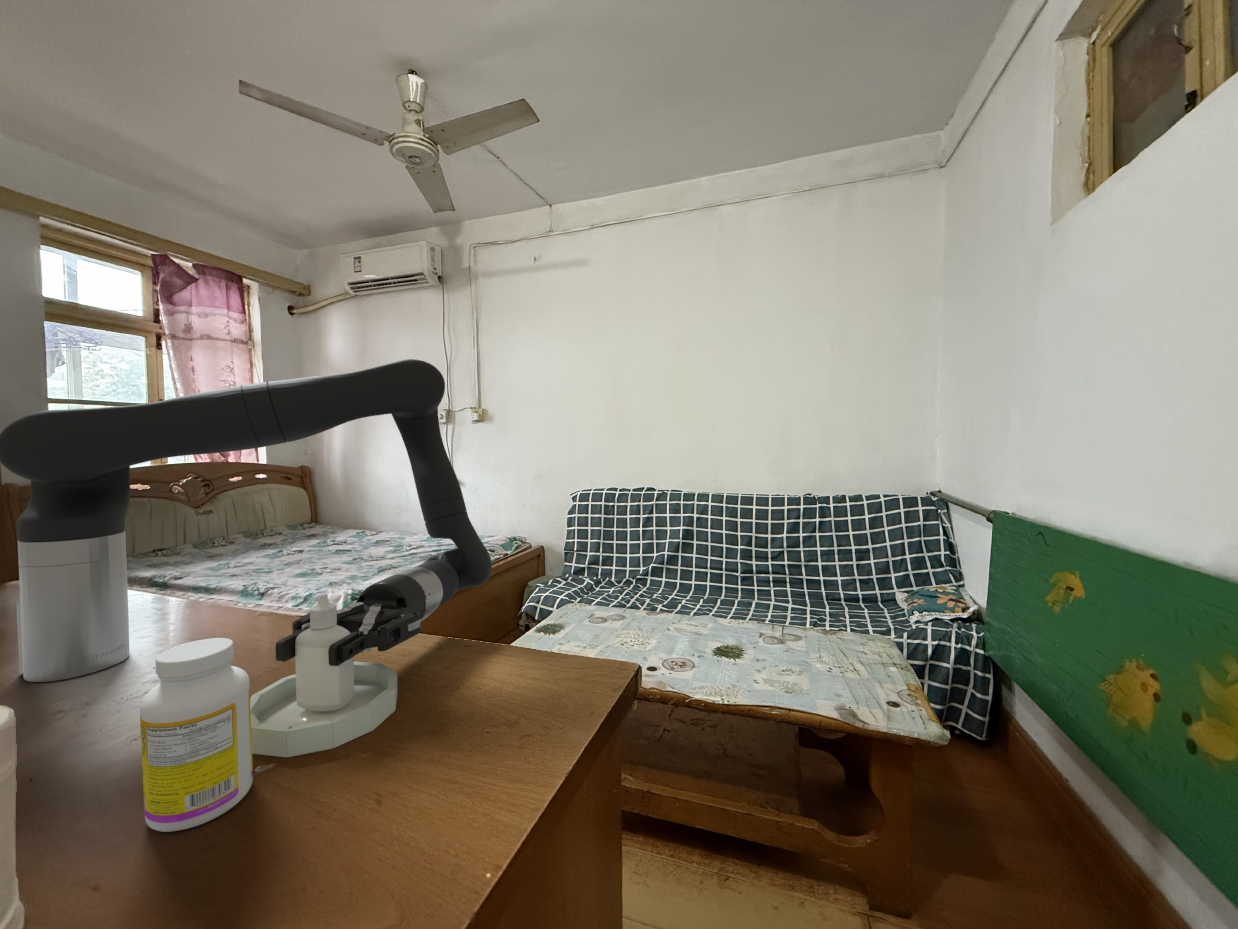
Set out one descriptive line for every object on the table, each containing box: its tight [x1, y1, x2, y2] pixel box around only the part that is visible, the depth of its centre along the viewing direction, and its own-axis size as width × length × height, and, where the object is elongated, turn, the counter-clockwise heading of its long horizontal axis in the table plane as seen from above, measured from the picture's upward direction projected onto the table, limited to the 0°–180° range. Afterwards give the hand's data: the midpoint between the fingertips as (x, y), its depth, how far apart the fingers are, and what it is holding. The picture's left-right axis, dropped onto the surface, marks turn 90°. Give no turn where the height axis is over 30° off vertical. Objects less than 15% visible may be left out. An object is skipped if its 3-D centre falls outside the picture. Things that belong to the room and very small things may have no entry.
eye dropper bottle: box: [294, 592, 355, 711], centre depth 52 cm, size 4×6×12 cm
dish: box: [250, 660, 398, 758], centre depth 52 cm, size 14×14×2 cm
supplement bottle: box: [139, 637, 254, 833], centre depth 39 cm, size 7×7×13 cm
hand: (305, 654), depth 49 cm, fingers closed on eye dropper bottle, 5 cm apart
